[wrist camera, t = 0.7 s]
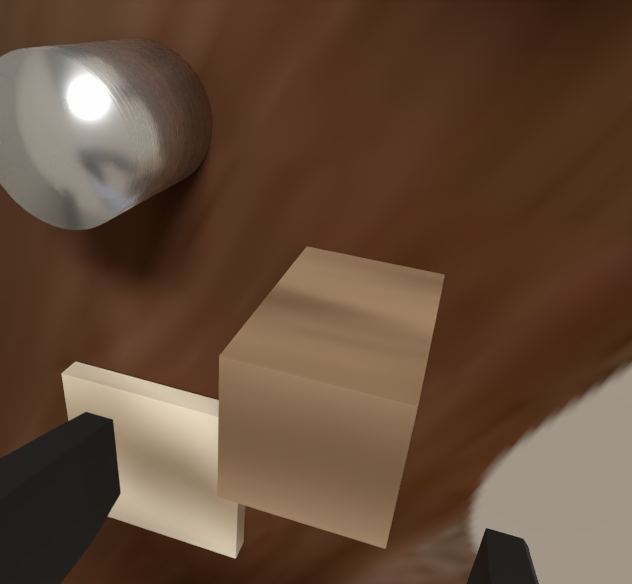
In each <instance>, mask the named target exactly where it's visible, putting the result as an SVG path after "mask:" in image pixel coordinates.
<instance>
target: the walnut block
mask: <svg viewBox="0 0 632 584" xmlns="http://www.w3.org/2000/svg"><path fill="white" fill-rule="evenodd" d="M444 277H445V275H443V274H439V273H434V272H429V271H424V270H419V269H414V268H409V267H404V266H399V265H394V264H390V263H385V262H380V261H375V260H370V259H365V258H360V257H355V256H350V255H346V254H341V253H336V252H331V251H326V250H321V249H316V248H311V247H306V248H305V249H304V251H303V252H302V253H301V254H300V256H299V257H298V258H297V259H296V261H295V262H294V263H293V264H292V266H291V267H290V268H289V269H288V271H287V272H286V273H285V274H284V276H283V277H282V278H281V279H280V281H279V282H278V283H277V284H276V286H275V287H274V288H273V289H272V291H271V292H270V293H269V294H268V296H267V297H266V298H265V299H264V301H263V302H262V303H261V304H260V306H259V307H258V308H257V309H256V311H255V312H254V313H253V314H252V316H251V317H250V318H249V319H248V321H247V322H246V323H245V324H244V326H243V327H242V328H241V329H240V331H239V332H238V333H237V334H236V336H235V337H234V338H233V339H232V341H231V342H230V343H229V344H228V346H227V347H226V348H225V349H224V351H223V352H222V353H221V354H220V356H219V415H218V489H217V497H219V498H222V499H226V500H229V501H232V502H235V503H238V504H242V505H245V506H248V507H251V508H255V509H258V510H261V511H264V512H268V513H271V514H274V515H277V516H281V517H284V518H287V519H290V520H294V521H297V522H300V523H303V524H306V525H310V526H313V527H316V528H319V529H323V530H326V531H329V532H332V533H336V534H339V535H342V536H345V537H349V538H352V539H355V540H358V541H362V542H365V543H368V544H371V545H374V546H378V547H381V548H384V549H386V545H387V541H388V536H389V532H390V527H391V523H392V519H393V514H394V510H395V505H396V501H397V497H398V492H399V488H400V483H401V479H402V475H403V470H404V466H405V461H406V457H407V453H408V448H409V444H410V439H411V435H412V430H413V426H414V422H415V417H416V413H417V408H418V404H419V399H420V394H421V389H422V384H423V379H424V374H425V370H426V365H427V360H428V355H429V350H430V345H431V340H432V335H433V330H434V326H435V321H436V316H437V311H438V306H439V301H440V296H441V291H442V286H443V282H444Z"/></svg>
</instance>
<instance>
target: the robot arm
mask: <svg viewBox="0 0 632 584" xmlns="http://www.w3.org/2000/svg"><path fill="white" fill-rule="evenodd" d="M120 494H121V491H120V482H119V472H118V462H117V453H116V443H115V434H114V424H113V419H109V418H106V417H103V416H99V415H96V414H92V413H89V412H85V413H83V414H81V415H79V416H77V417H75V418H73V419H71V420H69V421H67V422H66V423H64V424H62V425H60V426H58V427H57V428H55V429H53V430H51V431H49V432H48V433H46V434H44V435H42V436H40V437H39V438H37V439H35V440H33V441H31V442H30V443H28V444H26V445H24V446H23V447H21V448H19V449H17V450H15V451H13V452H12V453H10V454H8V455H6V456H4V457H2V458H1V459H0V584H60V583H61V582H62V581H63V579H64V578H65V577H66V576H67V574H68V573H69V572H70V570H71V569H72V568H73V566H74V565H75V564H76V562H77V561H78V560H79V558H80V557H81V556H82V554H83V553H84V552H85V550H86V549H87V548H88V546H89V545H90V544H91V542H92V541H93V539H94V538H95V536H96V534H97V533H98V531H99V530H100V528H101V526H102V525H103V523H104V521H105V520H106V518H107V516H108V515H109V513H110V511H111V509H112V508H113V506H114V504H115V502H116V501H117V499H118V497H119V496H120ZM467 584H539V583H538V580H537V577H536V573H535V570H534V566H533V563H532V559H531V556H530V552H529V548H528V545H527V544H526V542H525V541H524V539H522V538H519V537H515V536H512V535H508V534H505V533H501V532H498V531H495V530H491V529H487V528H486V530H485V533H484V536H483V539H482V541H481V544H480V547H479V550H478V553H477V556H476V559H475V562H474V565H473V567H472V570H471V573H470V576H469V579H468V582H467Z"/></svg>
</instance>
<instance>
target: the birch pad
mask: <svg viewBox="0 0 632 584" xmlns="http://www.w3.org/2000/svg"><path fill="white" fill-rule="evenodd" d="M61 374H62V380H63V387H64V394H65V400H66V407H67V414H68V420H71V419H73V418H75V417H77V416H79V415H81V414H83V413H85V412H89V413H92V414H96V415H99V416H103V417H106V418H109V419H113V424H114V434H115V443H116V453H117V462H118V472H119V482H120V491H121V494H120V496H119V497H118V499H117V501H116V502H115V504H114V506H113V508H112V509H111V511H110V513H109V515H108V517H111V518H114V519H117V520H120V521H123V522H126V523H129V524H132V525H135V526H138V527H141V528H144V529H147V530H150V531H153V532H156V533H159V534H162V535H165V536H168V537H171V538H174V539H178V540H181V541H184V542H187V543H190V544H193V545H196V546H199V547H202V548H205V549H208V550H211V551H214V552H217V553H220V554H223V555H226V556H229V557H232V558H235V559H236V557H237V555H238V553H239V551H240V549H241V547H242V545H243V542H244V522H245V505H242V504H238V503H235V502H232V501H229V500H226V499H222V498H219V497H217V489H218V415H219V400H216V399H212V398H208V397H205V396H201V395H197V394H193V393H190V392H186V391H182V390H179V389H175V388H171V387H168V386H164V385H160V384H157V383H153V382H149V381H146V380H142V379H138V378H135V377H131V376H127V375H123V374H120V373H116V372H112V371H109V370H105V369H101V368H98V367H94V366H90V365H87V364H83V363H79V362H74V363H73V364H72V365H71V366H70V367H68V368H67V369H66V370H65V371H64V372H63V373H61Z"/></svg>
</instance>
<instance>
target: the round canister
mask: <svg viewBox="0 0 632 584" xmlns="http://www.w3.org/2000/svg"><path fill="white" fill-rule="evenodd" d="M211 137H212V114H211V108H210V104H209V101H208V97H207V94H206V92H205V90H204V87H203V85H202V83H201V81H200V80H199V78H198V76H197V75H196V73H195V72H194V70H193V69H192V68H191V67H190V66H189V64H188V63H187V62H186V61H185V60H184V59H183V58H182V57H181V56H180V55H178V54H177V53H176V52H174V51H173V50H172V49H170V48H168V47H166V46H165V45H163V44H161V43H158V42H155V41H152V40H148V39H140V38H132V39H121V40H110V41H99V42H88V43H77V44H66V45H55V46H44V47H33V48H24V49H18V50H14V51H11V52H9V53H7V54H5V55H3V56H1V57H0V184H1V185H2V187H3V188H4V189H5V190H6V191H7V193H8V194H9V195H10V196H11V197H12V198H13V199H14V200H15V201H16V202H17V203H18V204H19V205H20V206H21V207H22V208H24V209H25V210H26V211H27V212H29V213H30V214H32V215H33V216H35V217H36V218H38V219H40V220H42V221H44V222H46V223H48V224H50V225H53V226H56V227H59V228H63V229H70V230H85V229H91V228H94V227H97V226H99V225H101V224H103V223H105V222H107V221H109V220H111V219H112V218H114V217H116V216H118V215H120V214H121V213H123V212H125V211H127V210H129V209H131V208H132V207H134V206H136V205H138V204H140V203H141V202H143V201H145V200H147V199H149V198H151V197H152V196H154V195H156V194H158V193H160V192H162V191H163V190H165V189H167V188H169V187H171V186H172V185H174V184H176V183H178V182H180V181H182V180H183V179H185V178H187V177H188V176H190V175H191V174H192V173H194V172H195V171H196V170H197V168H198V167H199V166H200V165H201V163H202V162H203V160H204V158H205V156H206V154H207V152H208V149H209V146H210V142H211Z"/></svg>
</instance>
